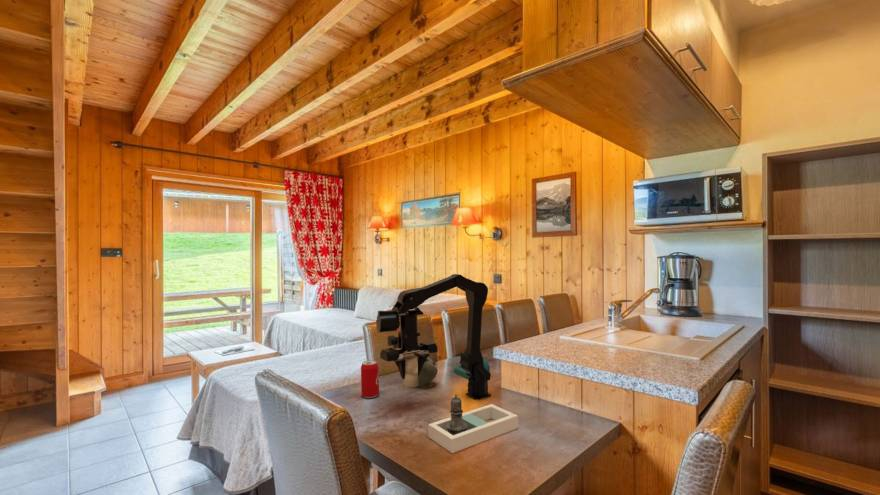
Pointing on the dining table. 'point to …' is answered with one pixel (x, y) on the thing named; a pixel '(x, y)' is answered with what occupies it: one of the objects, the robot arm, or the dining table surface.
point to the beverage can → (370, 379)
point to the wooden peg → (411, 372)
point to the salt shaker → (456, 417)
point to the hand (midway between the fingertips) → (410, 377)
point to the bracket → (461, 372)
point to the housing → (474, 428)
